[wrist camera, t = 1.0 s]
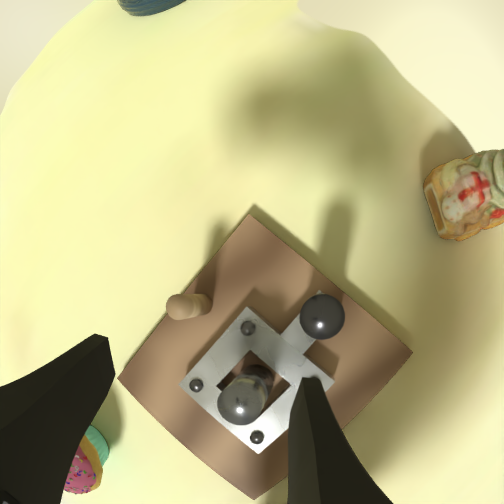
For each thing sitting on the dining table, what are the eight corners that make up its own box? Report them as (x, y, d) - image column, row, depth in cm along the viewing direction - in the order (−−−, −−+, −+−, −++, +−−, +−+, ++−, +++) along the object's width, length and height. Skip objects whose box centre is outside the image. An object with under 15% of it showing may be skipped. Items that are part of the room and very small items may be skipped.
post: (281, 379, 22) (270, 405, 16) (258, 403, 22) (241, 433, 16) (254, 357, 22) (236, 376, 17) (232, 381, 22) (208, 405, 17)
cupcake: (116, 487, 24) (48, 540, 13) (59, 444, 26) (-14, 477, 14) (130, 435, 25) (46, 488, 13) (67, 389, 26) (-21, 415, 15)
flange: (261, 447, 21) (245, 485, 16) (184, 380, 23) (149, 402, 17) (373, 332, 21) (392, 346, 15) (288, 260, 22) (279, 250, 17)
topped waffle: (439, 256, 21) (507, 234, 12) (407, 184, 23) (452, 125, 13) (506, 218, 20) (577, 186, 11) (475, 155, 21) (531, 98, 12)
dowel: (216, 303, 23) (194, 306, 19) (203, 319, 23) (178, 325, 19) (201, 289, 24) (176, 289, 19) (188, 305, 24) (161, 307, 19)
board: (409, 349, 21) (413, 352, 20) (255, 494, 22) (253, 500, 21) (251, 216, 25) (248, 213, 24) (123, 376, 25) (117, 378, 24)
